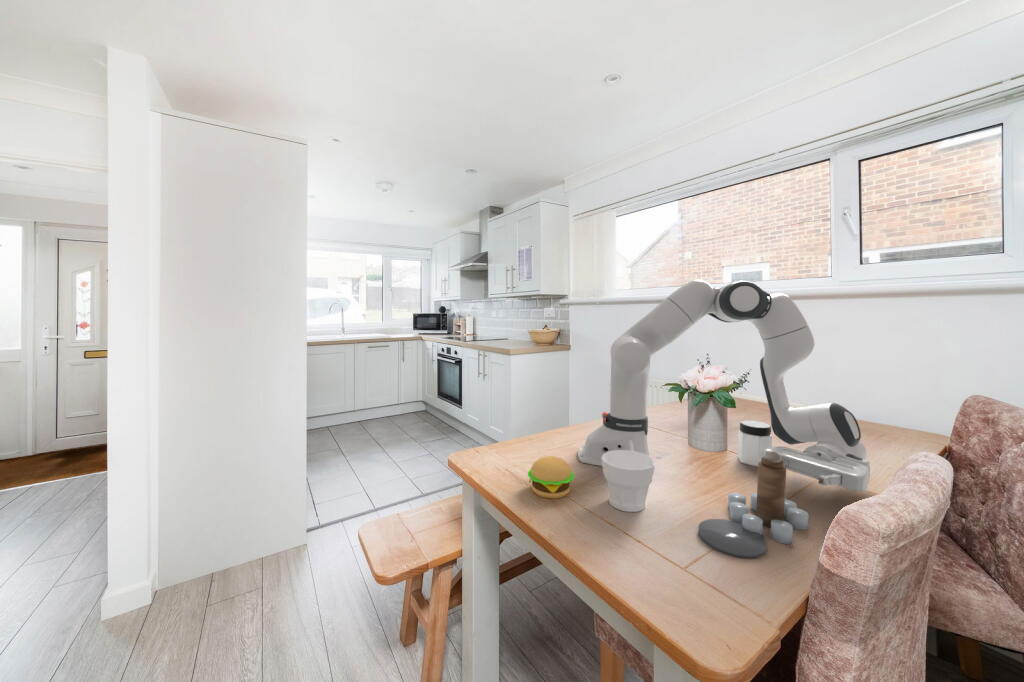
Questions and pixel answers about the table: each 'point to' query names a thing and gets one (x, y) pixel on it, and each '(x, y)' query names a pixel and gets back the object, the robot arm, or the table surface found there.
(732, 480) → the table surface
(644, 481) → the cup
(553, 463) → the hamburger
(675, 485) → the table surface
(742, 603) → the table surface
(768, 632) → the table surface
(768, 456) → the pepper mill
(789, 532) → the tealight cups
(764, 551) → the disc
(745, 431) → the jar
